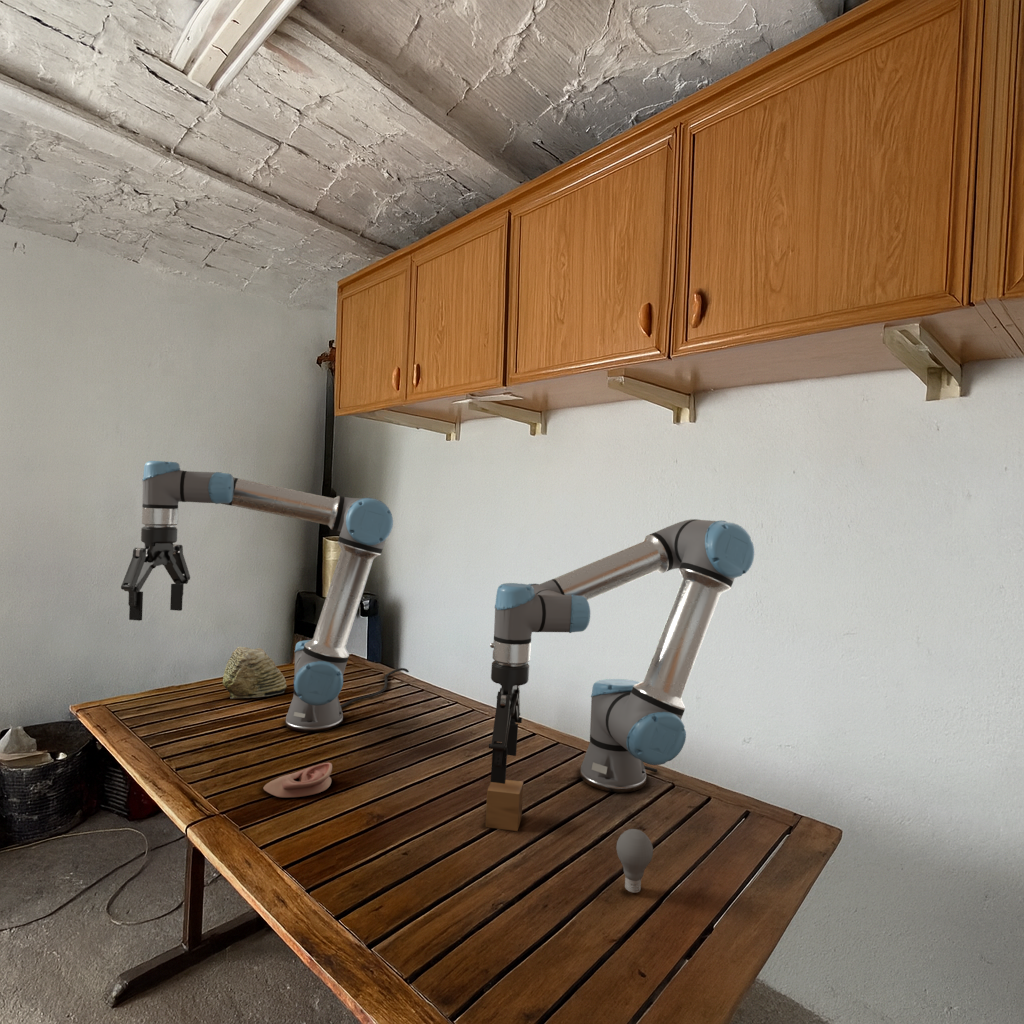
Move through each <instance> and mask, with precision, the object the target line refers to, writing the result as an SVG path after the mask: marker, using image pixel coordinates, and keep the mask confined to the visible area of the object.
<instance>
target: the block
mask: <svg viewBox="0 0 1024 1024" xmlns="http://www.w3.org/2000/svg"><path fill="white" fill-rule="evenodd" d="M489 783H490V784H489V785H488V787H487V790H486V808H485V809H486V811H485V828H489V829H498V830H506V831H514V832H519V828H520V824H521V821H522V818H523V798H524V797H523V796H524V795H523V794H524V781H521V780H514V779H513V780H512V779H506V780H505V784H502V783H495V782H491V781H490V782H489Z"/></svg>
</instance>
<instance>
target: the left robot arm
mask: <svg viewBox="0 0 1024 1024" xmlns="http://www.w3.org/2000/svg"><path fill="white" fill-rule="evenodd" d="M142 477H143V478H141V479H142V504H141V505H142V506H141V507H142V509H141V510H142V511H141V512H142V513H141V524H142V525H144V526H142V527H141V530H140V531H141V533H140V541H141V543H143V544H144V547H134V548H133V550H132V556H131V560H130V563H129V565H128V567H127V570H126V573H125V575H124V578H123V580H122V583H121V586H120V589H121V590H122V591H123V590H124V592H128V607H129V609H128V611H129V612H128V620H129V621H138V622H139V621H143V609H144V608H143V607H144V606H143V605H144V604H143V603H144V591H141V590H142V589H143V587H144V585H145V583H146V581H147V580H148V578H149V577H150V574H151V573H152V572H153V569H156V567H160V566H163V567H164V568H165V571H166V572H167V574H168V575H169V577H170V579H171V580H172V581H173V583H171V584H170V603H169V604H170V607H169V611H179V612H180V611H183V599H184V598H183V597H184V589H185V588H184V587H185V585H188V583H189V581H190V580H191V575H190V572H189V568H188V565H187V562H186V558H185V556H184V548H183V547H184V546H183V545H182V544H175V543H177V541H178V528H177V526H178V524H179V502H180V503H198V504H199V503H200V504H201V503H202V504H215V505H218V504H220V505H225V506H231V507H235V508H241V509H247V510H252V511H256V512H260V513H261V512H262V513H266V514H271V515H275V516H282V517H287V518H291V519H295V520H301V521H305V522H310V523H311V522H312V523H316V524H321V525H325V526H328V527H329V528H330V530H332V531H337V532H340V533H339V536H338V539H337V544H338V546H339V548H340V554H339V555H338V559H337V561H336V565H335V568H334V570H333V571H334V572H333V575H332V577H331V578H332V579H331V581H330V584H329V587H328V590H327V594H326V597H325V600H324V603H323V606H322V609H321V612H320V615H319V619H318V621H317V625H316V627H315V631H314V633H313V637H312V639H306V640H305V639H304V640H300V641H298V642H297V643H295V648H294V649H295V650H293V651H294V672H293V673H294V674H293V675H294V676H293V695H292V696H293V697H292V699H291V702H290V704H289V708H288V711H287V713H286V715H285V726H286V728H287V729H289V730H291V731H294V732H295V731H296V732H301V733H316V732H325V731H329V730H332V729H335V728H337V727H339V726H340V725H342V723H343V722H344V714H343V709H342V708H345V707H346V706H348V705H350V704H352V703H354V702H357V701H358V702H359V701H362V700H365V699H366V700H367V699H370V698H373V697H376V696H378V695H380V694H383V693H384V692H385V691H386V689H387V688H388V677H389V676H391V675H393V674H395V673H397V672H400V671H404V672H406V673H409V672H410V671H409V669H407V668H405V667H399V668H396V669H393V670H392V671H389V672H387V673H386V674H385V675H384V678H383V679H384V686H383V688H381V689H380V690H378V691H377V692H374V693H371V694H367V695H363V696H359V697H355V698H353V699H352V698H351V699H350V700H348V701H346V702H344V703H342V704H341V702H340V699H339V694H340V693H341V691H342V688H343V686H344V673H345V671H346V667H347V663H348V661H349V658H350V652H349V651H348V650H347V644H348V641H349V638H350V635H351V631H352V628H353V625H354V622H355V619H356V616H357V613H358V609H359V607H360V603H361V600H362V597H363V594H364V591H365V587H366V584H367V581H368V578H369V574H370V573H371V572H370V571H371V568H372V565H373V561H374V560H375V559H376V558H378V557H380V556H381V555H382V553H383V550H384V546H385V543H386V540H387V539H388V537H389V536H390V534H391V533H392V530H393V527H394V518H393V514H392V512H391V509H390V508H389V506H388V505H387V504H386V503H384V502H383V501H381V500H380V499H378V498H373V497H347V496H342V495H336V497H330V496H324V495H320V494H316V493H310V492H306V491H302V490H301V491H300V490H295V489H291V488H286V487H283V486H282V487H281V486H277V485H273V484H267V483H263V482H257V481H253V480H249V479H243V478H240V477H233V475H232V473H227V472H222V471H189V470H188V471H187V470H183V469H181V465H180V463H179V462H176V461H164V460H149V461H146V462H145V463H144V467H143V475H142ZM184 584H185V585H184ZM395 671H396V672H395Z"/></svg>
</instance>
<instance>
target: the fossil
mask: <svg viewBox="0 0 1024 1024" xmlns="http://www.w3.org/2000/svg"><path fill="white" fill-rule="evenodd" d="M222 676H223V677H222V685H223V687H224V688H225V690H226V691H228V693H229V698H230V699H250V698H264V697H271V696H275V695H281V694H284V693H285V691H286V689H287V687H288V686H287V680H286V678H285V676H284V674H283V673H282V672H281V669H279V668H278V667H277V665H276V663H275V662H274V660H273V659H272V658H271V657H270V656H269V655H268V654H267V653H266V652H265V650H264V649H263V648H260V647H258V648H251V647H247V646H246V647H245V646H238V647H237V648H236V649H235V650H233V651H232V653H231V656H230V657H229V659H228V660H227V663H226V666H225V668H224V671H223V675H222Z"/></svg>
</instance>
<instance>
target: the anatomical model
mask: <svg viewBox="0 0 1024 1024" xmlns="http://www.w3.org/2000/svg"><path fill="white" fill-rule="evenodd" d="M332 771H333V763H332V762H323V763H319V764H316V765H312V766H309V767H307V768H303V769H301V770H298V771H294V772H293V773H290V774H289V773H288V774H284V775H281V776H279V777H277V778H275V779H272V780H271V781H269V782H267V783H266V784H265V785H264V786H263V788H262V789H263V791H264V792H266V793H268V794H270V795H272V796H274V797H277V798H283V799H284V798H285V799H287V798H300V797H307V796H312V795H316V794H319V793H321V792H324V791H326V790H328V789H329V787H330V786H331V784H332V778H331V774H332Z"/></svg>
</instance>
